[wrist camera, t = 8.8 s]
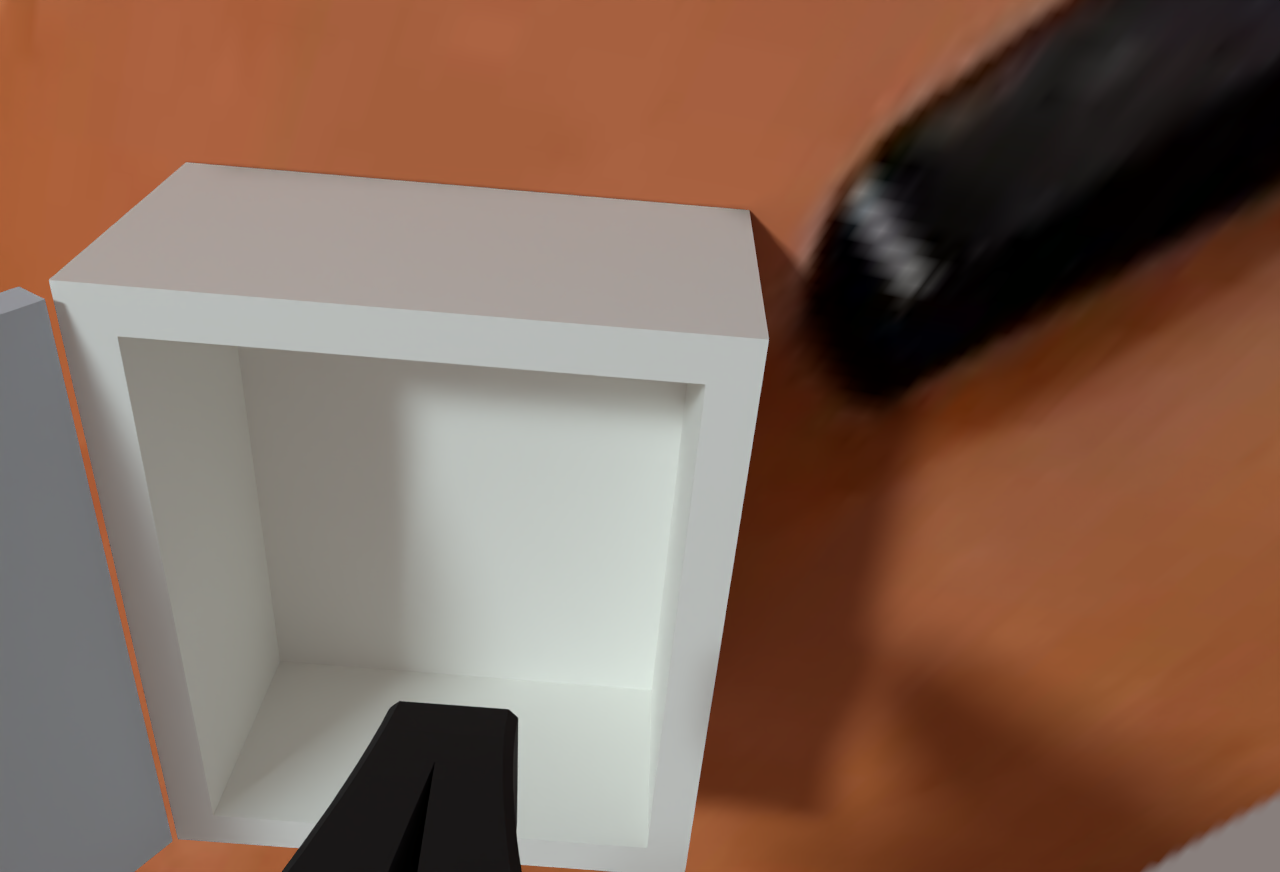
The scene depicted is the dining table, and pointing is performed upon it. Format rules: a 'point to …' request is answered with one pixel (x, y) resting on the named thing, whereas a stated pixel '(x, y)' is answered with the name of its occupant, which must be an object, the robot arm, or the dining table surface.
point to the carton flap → (61, 638)
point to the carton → (421, 486)
